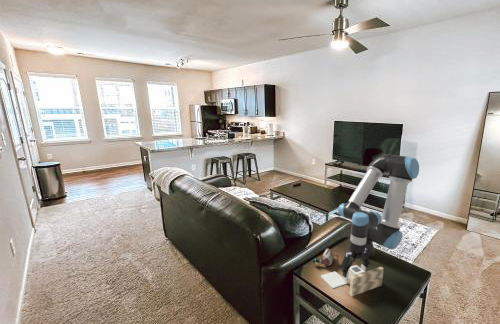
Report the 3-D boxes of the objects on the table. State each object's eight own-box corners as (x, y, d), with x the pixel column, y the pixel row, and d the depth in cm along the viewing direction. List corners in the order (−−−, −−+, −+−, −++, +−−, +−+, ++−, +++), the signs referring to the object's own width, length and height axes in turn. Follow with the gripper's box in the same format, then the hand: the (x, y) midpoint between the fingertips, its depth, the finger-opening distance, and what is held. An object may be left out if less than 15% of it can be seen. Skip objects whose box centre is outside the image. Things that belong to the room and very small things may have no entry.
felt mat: (335, 271, 133) (335, 271, 133) (348, 283, 124) (348, 282, 124) (320, 276, 129) (320, 275, 129) (332, 288, 120) (332, 288, 120)
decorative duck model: (313, 259, 134) (309, 244, 148) (313, 271, 136) (309, 254, 150) (340, 258, 132) (333, 243, 147) (340, 270, 134) (333, 253, 148)
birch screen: (379, 283, 123) (380, 266, 121) (381, 285, 122) (383, 268, 120) (349, 294, 116) (350, 276, 114) (351, 296, 115) (353, 278, 113)
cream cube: (355, 274, 131) (356, 264, 129) (364, 281, 125) (364, 271, 124) (346, 277, 129) (347, 267, 127) (355, 284, 123) (356, 274, 122)
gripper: (368, 234, 130) (364, 269, 134) (334, 242, 121) (331, 279, 126) (380, 241, 123) (376, 278, 127) (345, 250, 114) (341, 289, 119)
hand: (353, 279), depth 126 cm, fingers open, 11 cm apart
